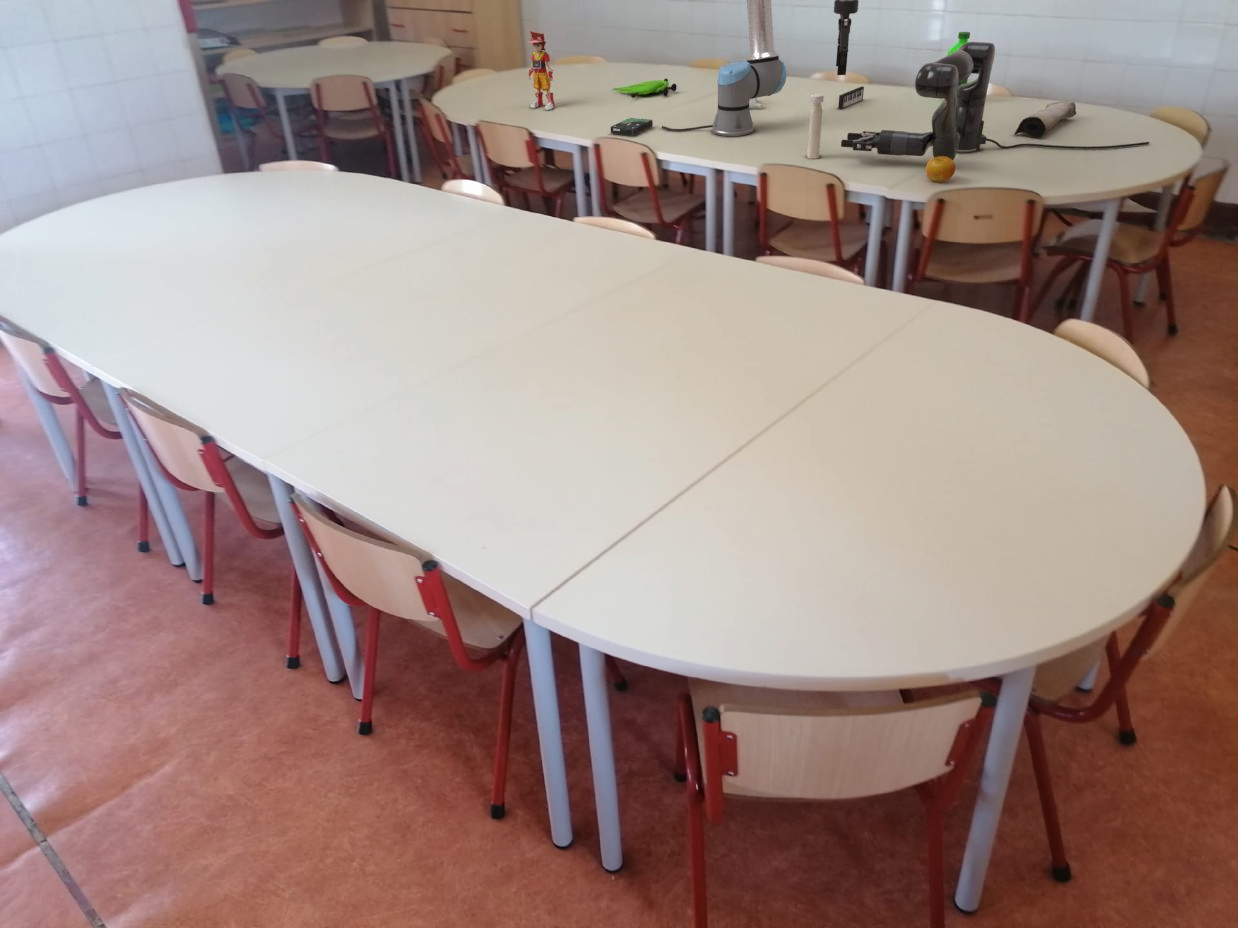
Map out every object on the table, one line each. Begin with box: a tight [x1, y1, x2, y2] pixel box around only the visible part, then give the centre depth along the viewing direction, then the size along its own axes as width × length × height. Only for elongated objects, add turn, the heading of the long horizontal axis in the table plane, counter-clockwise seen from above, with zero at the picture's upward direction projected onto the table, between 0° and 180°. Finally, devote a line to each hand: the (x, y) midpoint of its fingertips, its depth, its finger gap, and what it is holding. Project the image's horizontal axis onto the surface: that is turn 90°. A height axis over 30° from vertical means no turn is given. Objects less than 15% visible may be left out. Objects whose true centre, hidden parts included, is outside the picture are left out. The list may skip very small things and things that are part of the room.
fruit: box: [925, 156, 956, 183], centre depth 276 cm, size 8×8×8 cm
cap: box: [810, 93, 825, 104], centre depth 294 cm, size 4×4×2 cm
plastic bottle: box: [946, 31, 971, 87], centre depth 348 cm, size 10×10×25 cm
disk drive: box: [610, 117, 653, 136], centre depth 344 cm, size 10×3×15 cm
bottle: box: [806, 103, 824, 160], centre depth 300 cm, size 4×4×20 cm
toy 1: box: [527, 31, 556, 111], centre depth 374 cm, size 12×9×30 cm
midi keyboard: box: [837, 85, 865, 110], centre depth 359 cm, size 18×1×5 cm, turn 138°
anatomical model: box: [749, 98, 763, 110], centre depth 365 cm, size 15×10×10 cm
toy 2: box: [612, 78, 677, 99], centre depth 396 cm, size 28×5×30 cm
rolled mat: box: [1014, 100, 1077, 139], centre depth 318 cm, size 30×9×10 cm
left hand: (840, 70), depth 297 cm, fingers open, 13 cm apart
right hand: (844, 139), depth 298 cm, fingers open, 8 cm apart
